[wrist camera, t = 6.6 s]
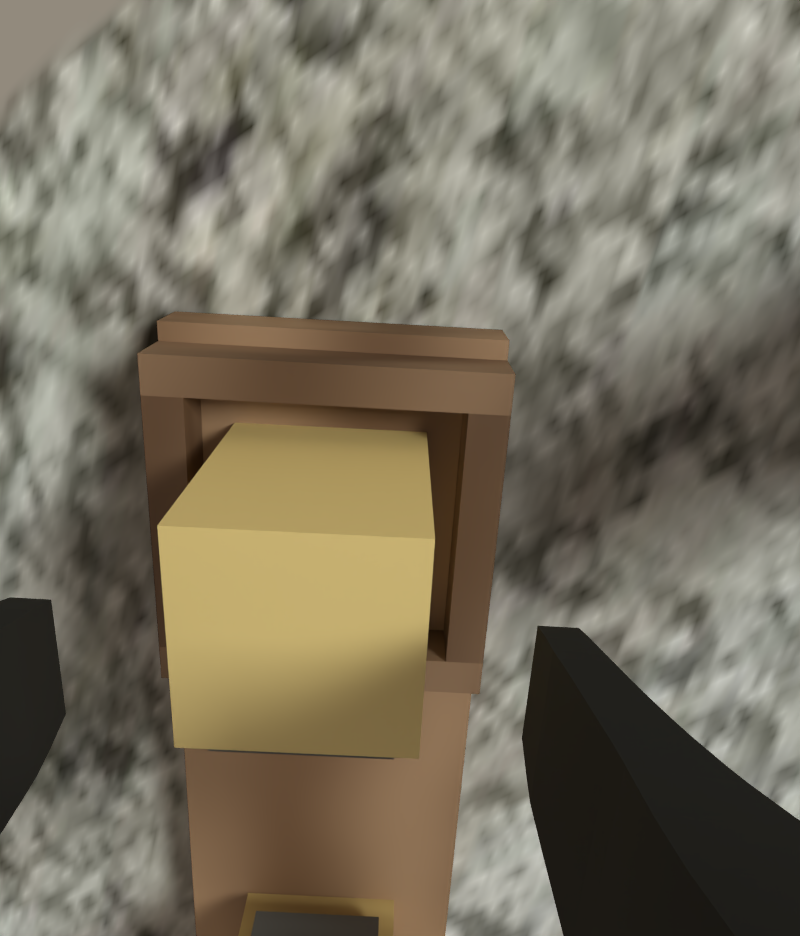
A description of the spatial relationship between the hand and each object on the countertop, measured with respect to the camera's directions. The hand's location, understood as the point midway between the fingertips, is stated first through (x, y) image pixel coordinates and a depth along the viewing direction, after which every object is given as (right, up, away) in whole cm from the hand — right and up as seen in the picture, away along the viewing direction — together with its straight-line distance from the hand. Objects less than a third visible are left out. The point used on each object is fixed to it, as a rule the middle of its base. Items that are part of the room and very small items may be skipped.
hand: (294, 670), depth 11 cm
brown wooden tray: (0, -3, +8) cm, 9 cm away
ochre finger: (0, +2, +5) cm, 5 cm away
